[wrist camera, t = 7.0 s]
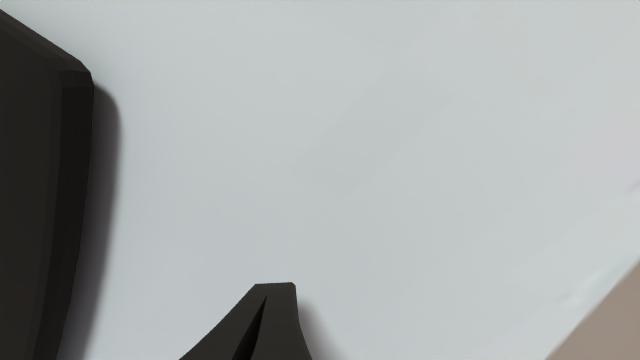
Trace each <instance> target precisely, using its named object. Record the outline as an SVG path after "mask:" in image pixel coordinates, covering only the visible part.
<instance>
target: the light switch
mask: <svg viewBox="0 0 640 360" xmlns="http://www.w3.org/2000/svg"><path fill="white" fill-rule="evenodd" d="M93 95H94V86H93V81H92V77H91V73H90V71H89V70H88V69H87V68H86V67H85V66H84V65H83V64H82V62H81V61H80V60H78V59H76V58H75V57H73V56H72V55H70V54H69V53H67V52H66V51H64V50H63V49H61V48H59V47H58V46H56V45H55V44H53V43H52V42H50V41H49V40H47V39H46V38H44V37H42V36H41V35H39V34H38V33H36V32H35V31H33V30H32V29H30V28H29V27H27V26H25V25H24V24H22V23H21V22H19V21H18V20H16V19H15V18H13V17H11V16H10V15H8V14H7V13H5V12H4V11H2V10H1V9H0V360H55V359H56V355H57V351H58V347H59V343H60V339H61V335H62V331H63V327H64V323H65V319H66V315H67V311H68V307H69V302H70V296H71V291H72V285H73V279H74V274H75V268H76V262H77V257H78V251H79V245H80V238H81V230H82V221H83V213H84V204H85V196H86V188H87V179H88V171H89V162H90V145H91V128H92V111H93Z"/></svg>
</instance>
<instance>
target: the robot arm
mask: <svg viewBox="0 0 640 360" xmlns="http://www.w3.org/2000/svg"><path fill="white" fill-rule="evenodd" d="M179 360H312V358H311V355H310V353H309V350H308V348H307V345H306V343H305V340H304V337H303V334H302V331H301V328H300V324H299V318H298V308H297V297H296V286H295V285H294V284H293V283H292V282H287V283H267V284H255V285H254V286H253V287H252V288H251V289H250V290H249V291H248V292H247V293H246V294H245V296H244V297H243V298H242V299H241V300H240V301H239V302H238V303H237V304H236V305H235V307H234V308H233V309H232V310H231V311H230V312H229V313H228V314H227V315H226V316H225V317H224V318H223V319H222V320H221V321H220V322H219V323H218V324H217V325H216V326H215V327H214V328H213V329H212V330H211V331H210V332H209V333H208V334H207V335H206V336H205V337H204V338H203V339H202V340H201V341H200V342H199V343H198V344H196V345H195V346H194V347H193V348H192V349H191V350H190V351H189V352H187V353H186V354H185V355H184V356H183V357H182V358H180V359H179Z"/></svg>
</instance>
